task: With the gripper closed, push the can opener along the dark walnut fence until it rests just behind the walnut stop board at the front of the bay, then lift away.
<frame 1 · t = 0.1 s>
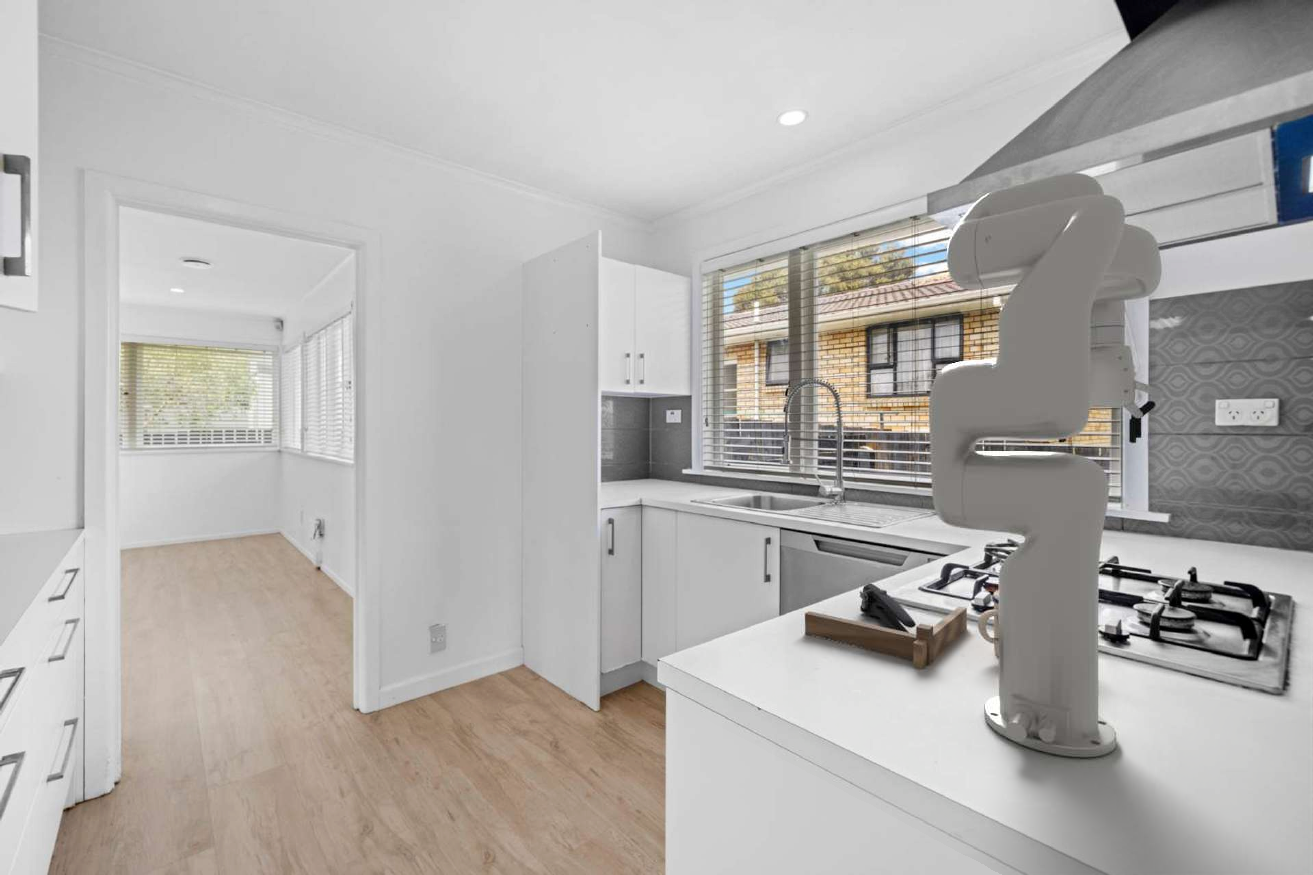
hand: (1096, 442, 101), 31 cm above the counter, tool pointing down, fingers open, 9 cm apart
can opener: (888, 626, 105), on the counter
teacup with lid: (1018, 659, 89), on the counter
bay: (879, 631, 101), on the counter
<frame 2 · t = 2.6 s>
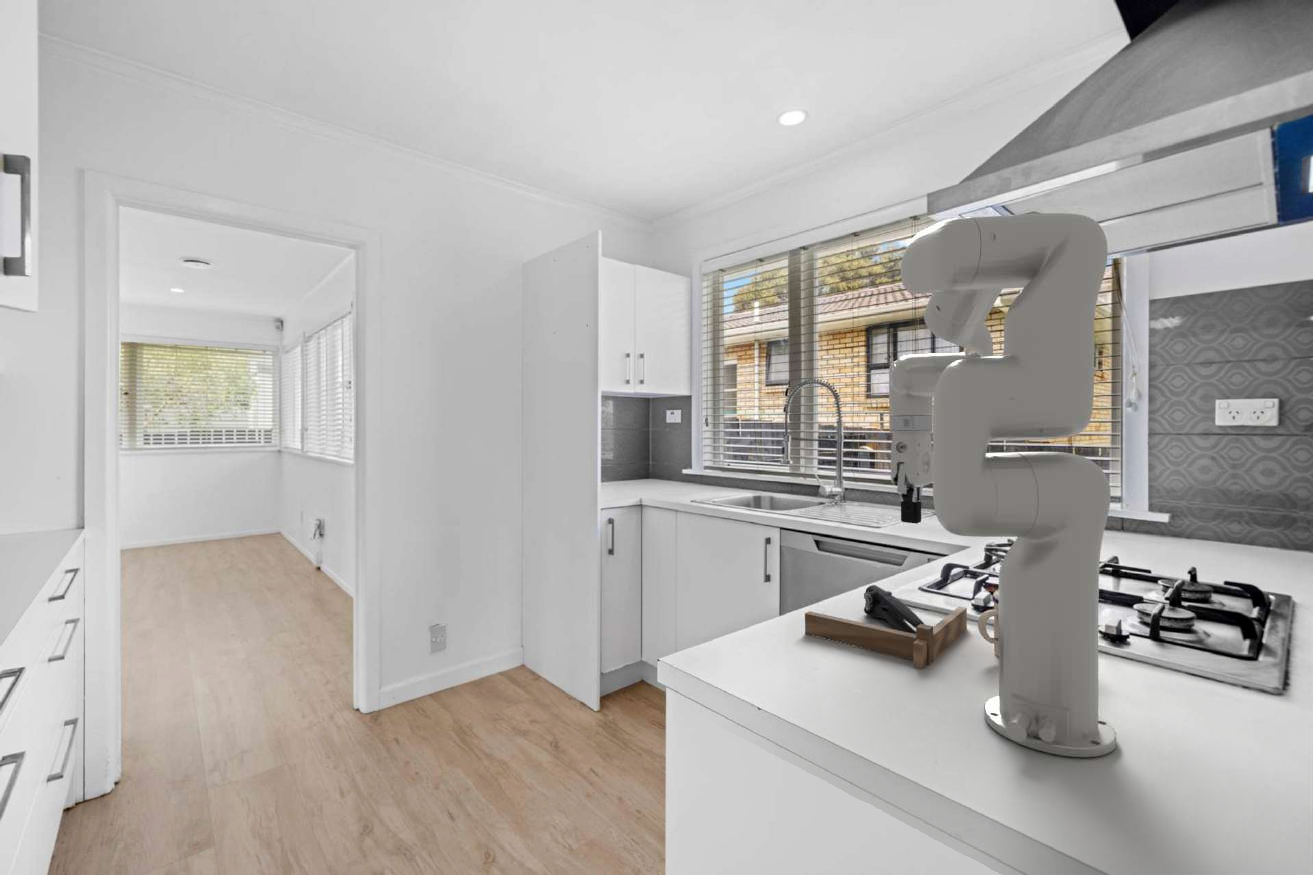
hand: (911, 522, 114), 16 cm above the counter, tool pointing down, fingers closed
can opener: (894, 628, 104), on the counter
everything else where it was.
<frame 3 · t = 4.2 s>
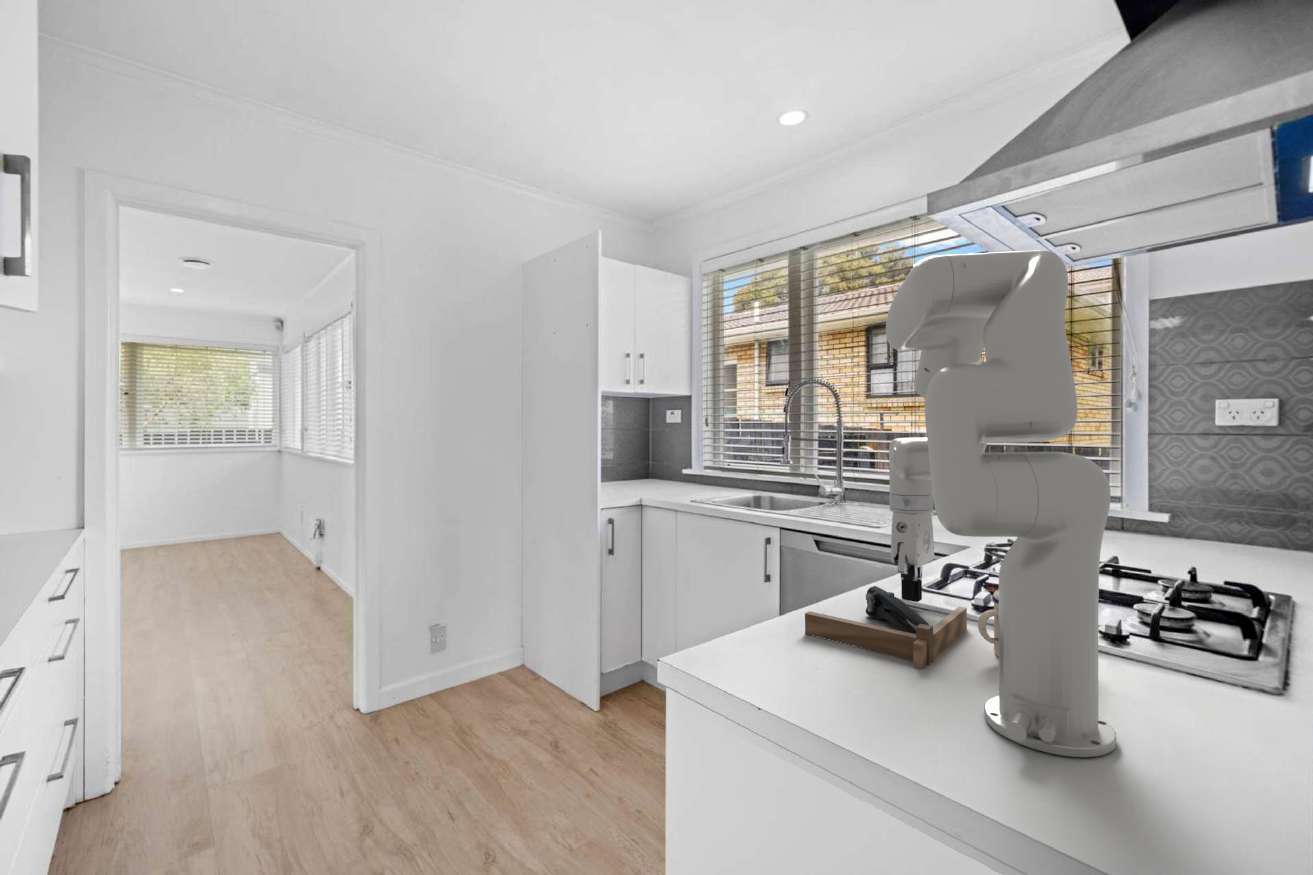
hand: (911, 599, 113), 1 cm above the counter, tool pointing down, fingers closed
nothing on the counter moved.
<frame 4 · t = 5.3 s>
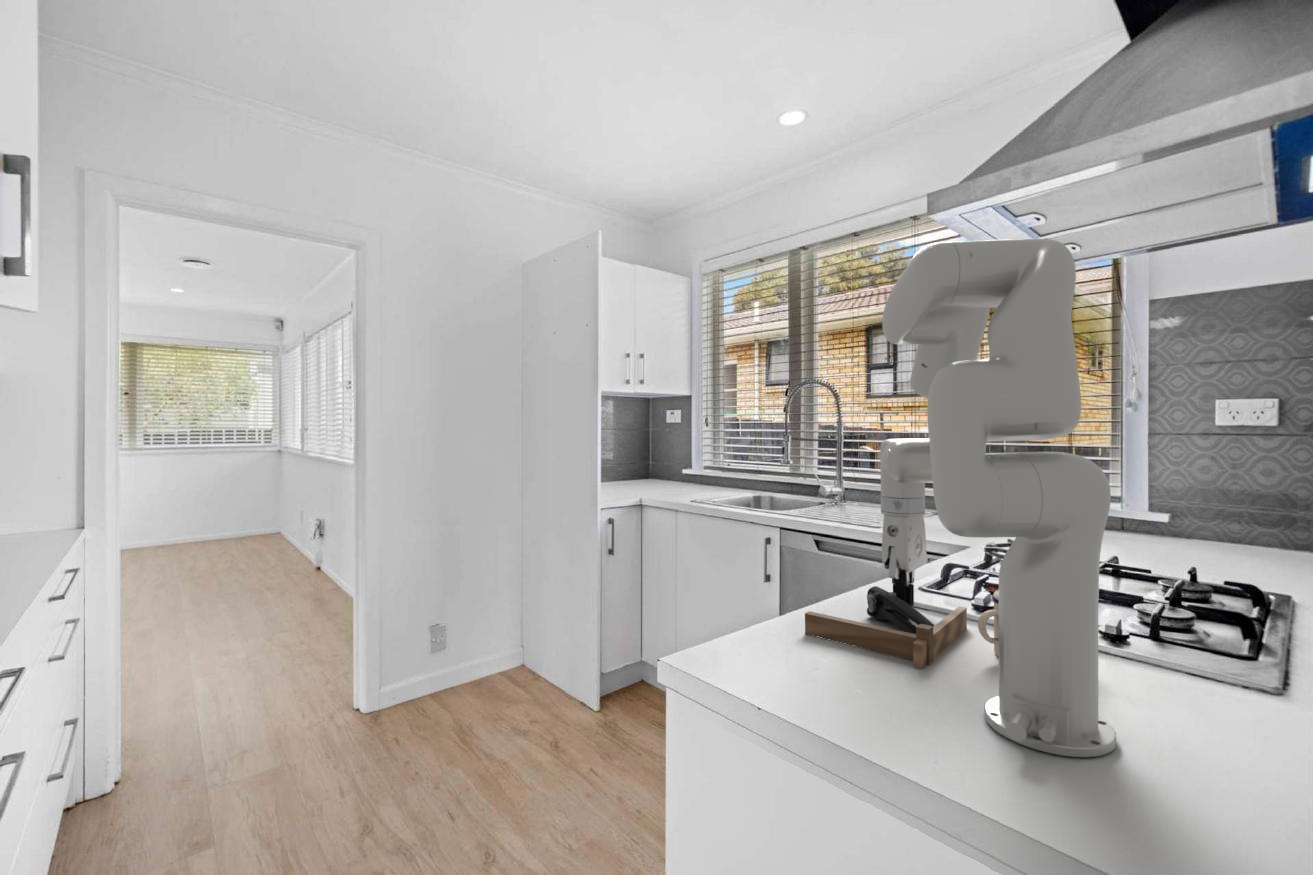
hand: (903, 605, 110), 1 cm above the counter, tool pointing down, fingers closed
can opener: (900, 629, 103), on the counter, touching gripper
everything else where it was.
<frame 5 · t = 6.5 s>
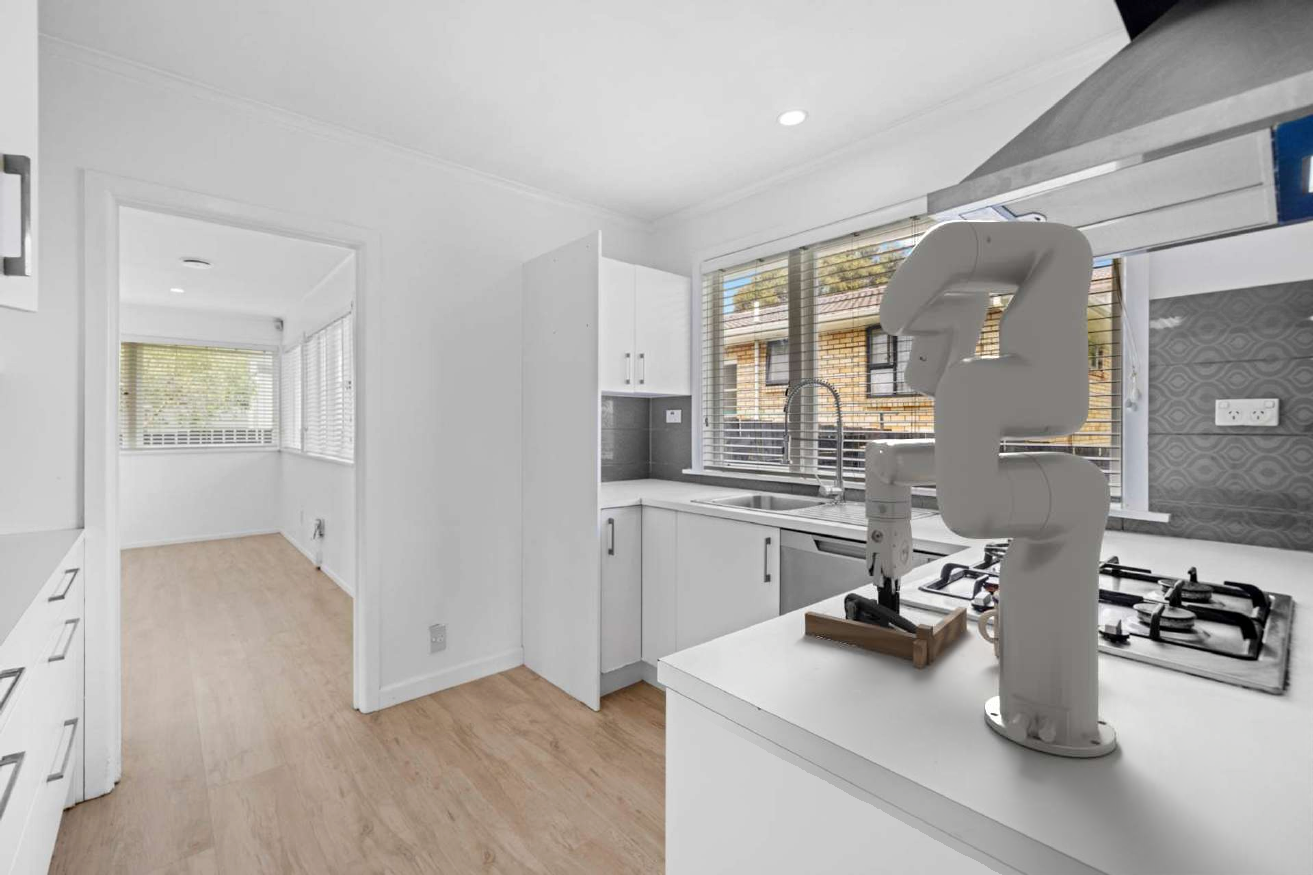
hand: (888, 614, 105), 2 cm above the counter, tool pointing down, fingers closed
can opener: (883, 637, 99), on the counter
everything else where it was.
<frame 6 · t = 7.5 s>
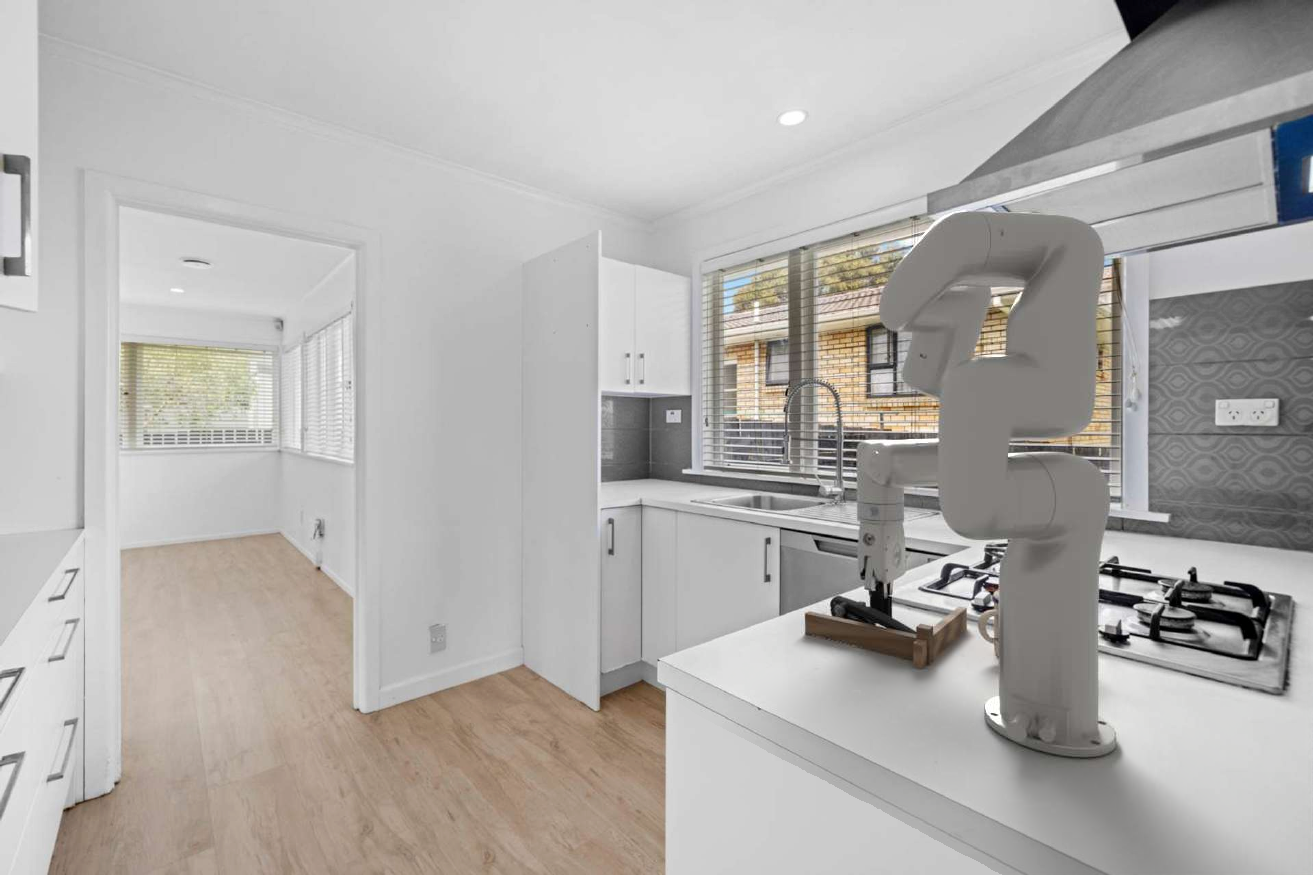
hand: (881, 618, 103), 2 cm above the counter, tool pointing down, fingers closed
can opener: (872, 640, 98), on the counter, touching gripper
everything else where it was.
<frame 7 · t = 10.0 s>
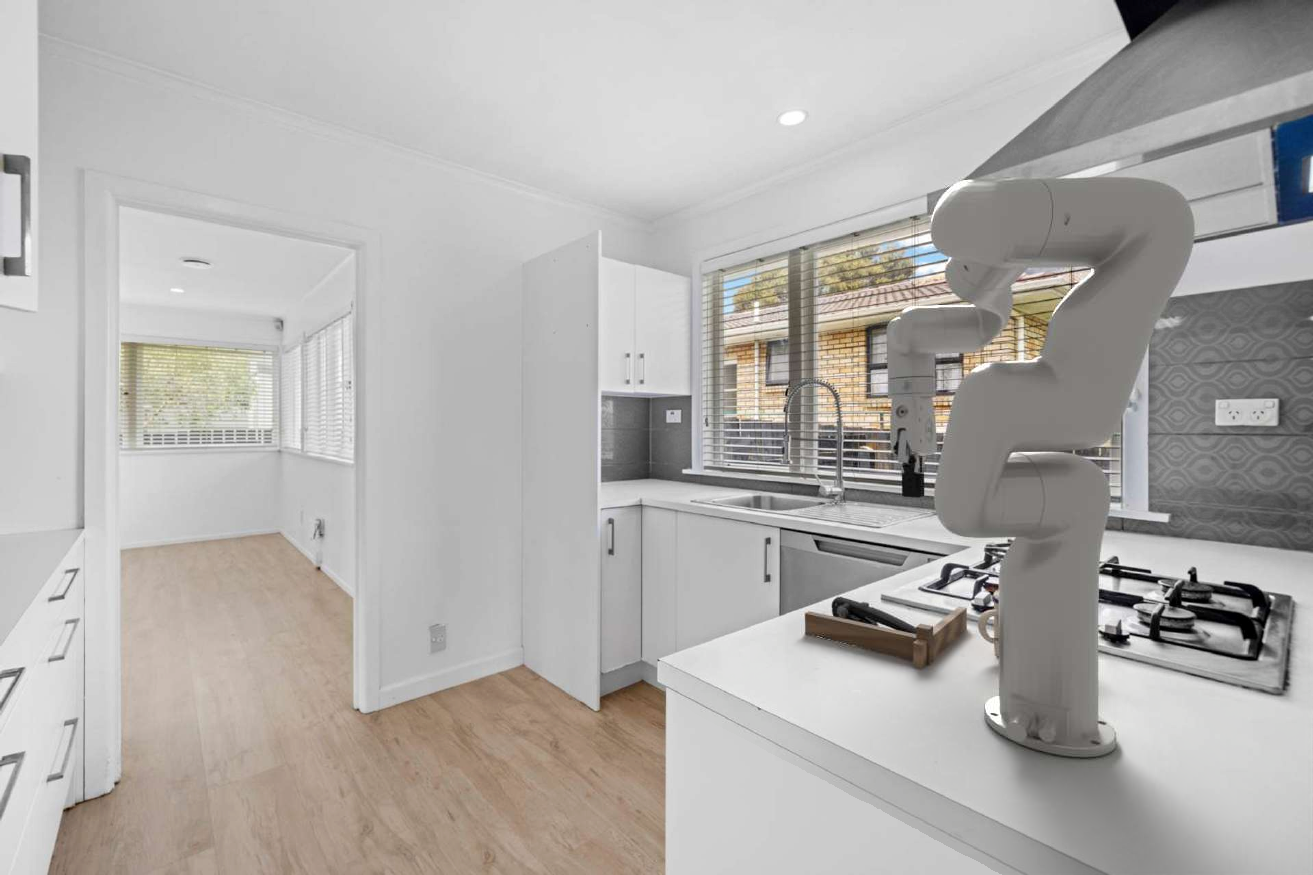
hand: (913, 496, 103), 22 cm above the counter, tool pointing down, fingers closed
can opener: (876, 641, 98), on the counter
everything else where it was.
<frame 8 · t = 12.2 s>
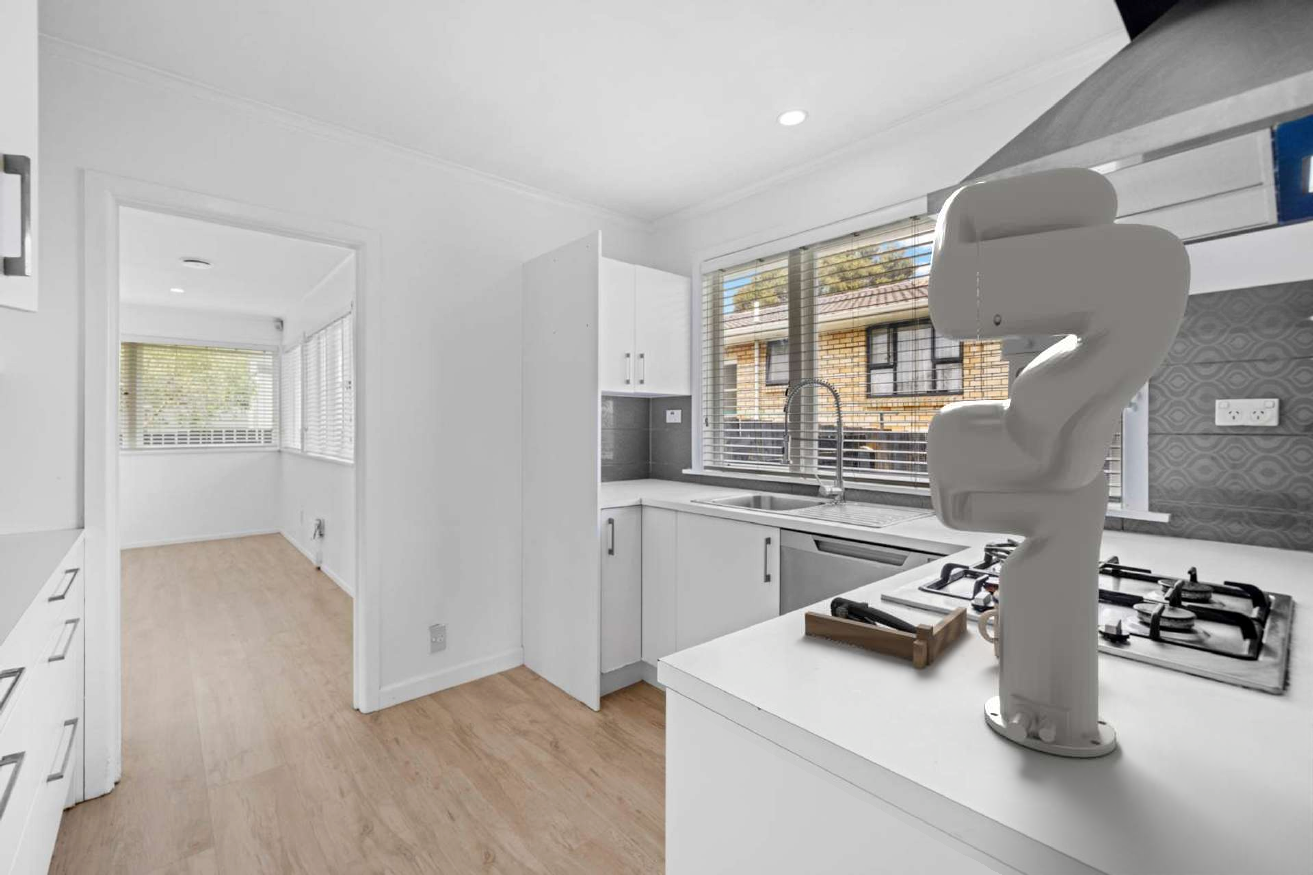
hand: (1032, 476, 86), 27 cm above the counter, tool pointing down, fingers closed
nothing on the counter moved.
at the end: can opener inside the target area (1.5 cm from its centre), on the counter; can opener moved 8.1 cm from its start; the gripper is holding nothing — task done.
